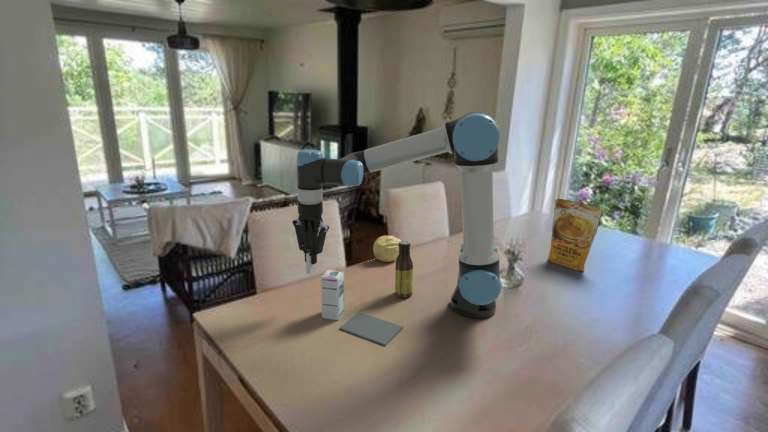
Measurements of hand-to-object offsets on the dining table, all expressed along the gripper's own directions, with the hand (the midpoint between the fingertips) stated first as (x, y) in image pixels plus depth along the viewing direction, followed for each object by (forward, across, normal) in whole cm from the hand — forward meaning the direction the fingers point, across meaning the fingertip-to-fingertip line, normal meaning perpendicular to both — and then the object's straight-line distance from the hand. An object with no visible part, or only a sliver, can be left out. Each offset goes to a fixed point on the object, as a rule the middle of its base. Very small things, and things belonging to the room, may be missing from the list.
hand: (310, 272), depth 131 cm
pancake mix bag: (+12, -68, -89) cm, 113 cm away
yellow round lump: (+13, 0, -50) cm, 52 cm away
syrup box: (+13, -9, 0) cm, 16 cm away
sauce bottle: (+13, -21, -25) cm, 35 cm away
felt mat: (+13, -23, 0) cm, 26 cm away
